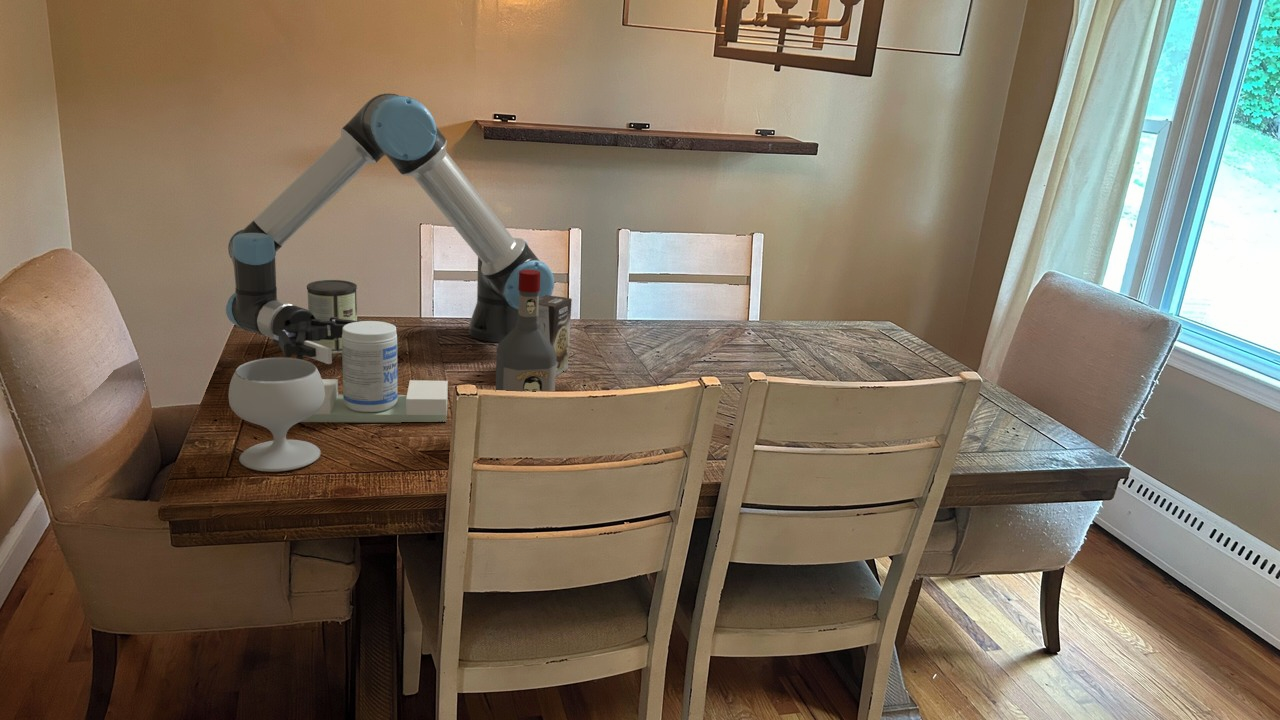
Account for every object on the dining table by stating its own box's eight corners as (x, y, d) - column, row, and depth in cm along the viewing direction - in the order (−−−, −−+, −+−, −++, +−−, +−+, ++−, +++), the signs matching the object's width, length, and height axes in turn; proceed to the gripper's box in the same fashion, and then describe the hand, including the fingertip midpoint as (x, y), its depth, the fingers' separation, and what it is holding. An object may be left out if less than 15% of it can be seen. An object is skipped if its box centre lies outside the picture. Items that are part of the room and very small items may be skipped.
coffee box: (551, 381, 188) (554, 306, 183) (523, 375, 190) (526, 301, 185) (569, 369, 196) (573, 297, 191) (542, 364, 198) (545, 293, 193)
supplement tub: (396, 414, 160) (396, 335, 156) (340, 414, 158) (339, 334, 154) (398, 395, 169) (398, 320, 165) (345, 395, 167) (344, 319, 162)
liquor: (491, 430, 160) (496, 266, 151) (541, 426, 164) (548, 265, 155) (503, 450, 152) (509, 278, 143) (555, 446, 156) (564, 278, 147)
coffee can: (321, 338, 203) (319, 277, 199) (365, 343, 203) (364, 282, 198) (300, 351, 194) (298, 288, 189) (346, 356, 193) (345, 292, 189)
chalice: (227, 479, 135) (220, 385, 130) (238, 442, 147) (232, 355, 143) (325, 473, 139) (322, 383, 134) (328, 438, 152) (325, 354, 147)
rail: (447, 402, 171) (447, 380, 170) (446, 422, 162) (446, 399, 161) (298, 401, 166) (298, 378, 165) (288, 422, 157) (287, 397, 156)
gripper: (341, 330, 184) (413, 354, 173) (229, 355, 164) (302, 384, 153) (340, 295, 182) (413, 316, 171) (226, 316, 162) (301, 342, 151)
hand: (361, 348), depth 162 cm, fingers open, 13 cm apart
